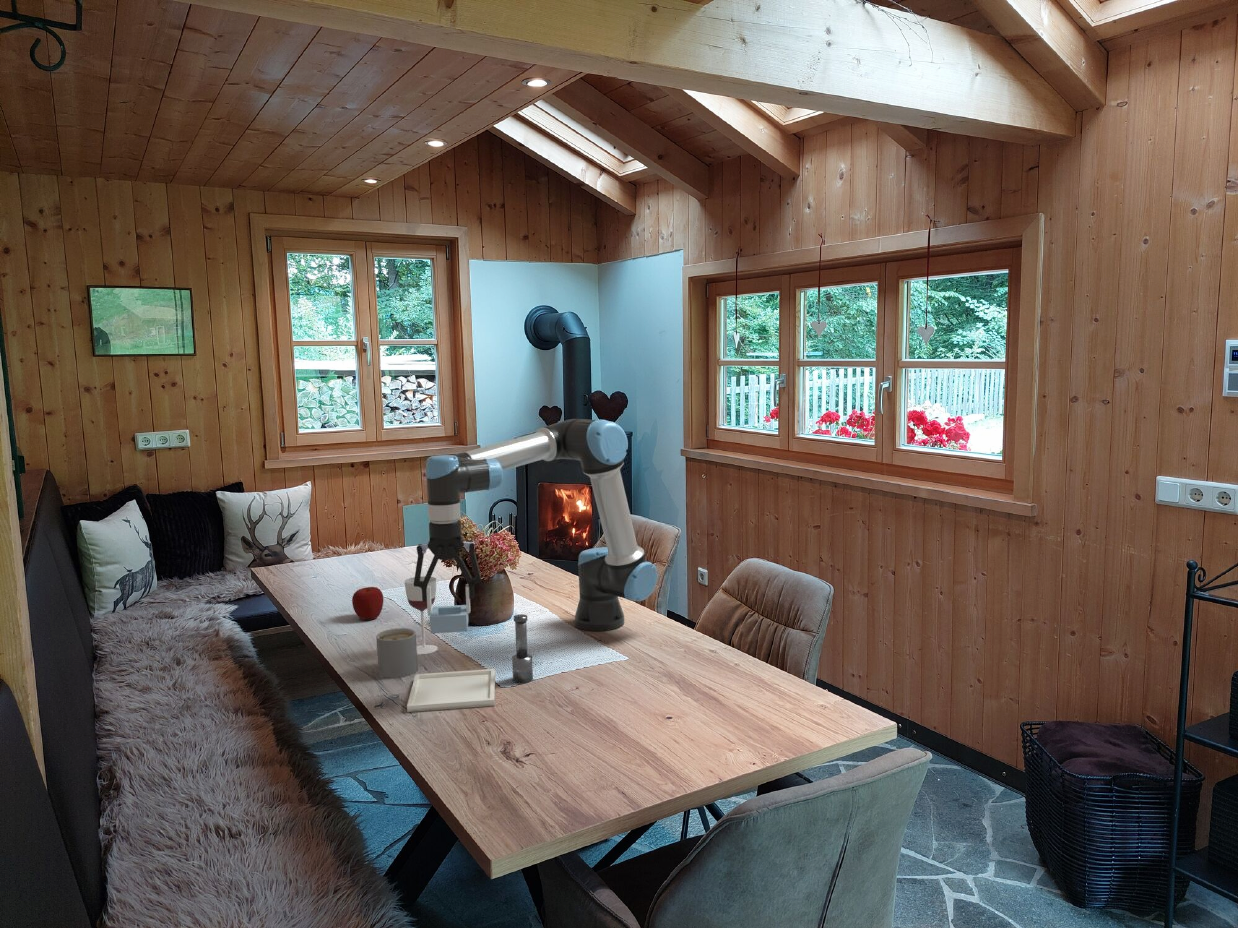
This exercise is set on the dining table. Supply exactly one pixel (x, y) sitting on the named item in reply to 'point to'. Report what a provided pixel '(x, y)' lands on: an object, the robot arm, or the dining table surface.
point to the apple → (368, 602)
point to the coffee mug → (397, 653)
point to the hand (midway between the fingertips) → (449, 612)
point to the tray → (452, 690)
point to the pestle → (521, 652)
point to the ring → (448, 619)
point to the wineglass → (421, 607)
